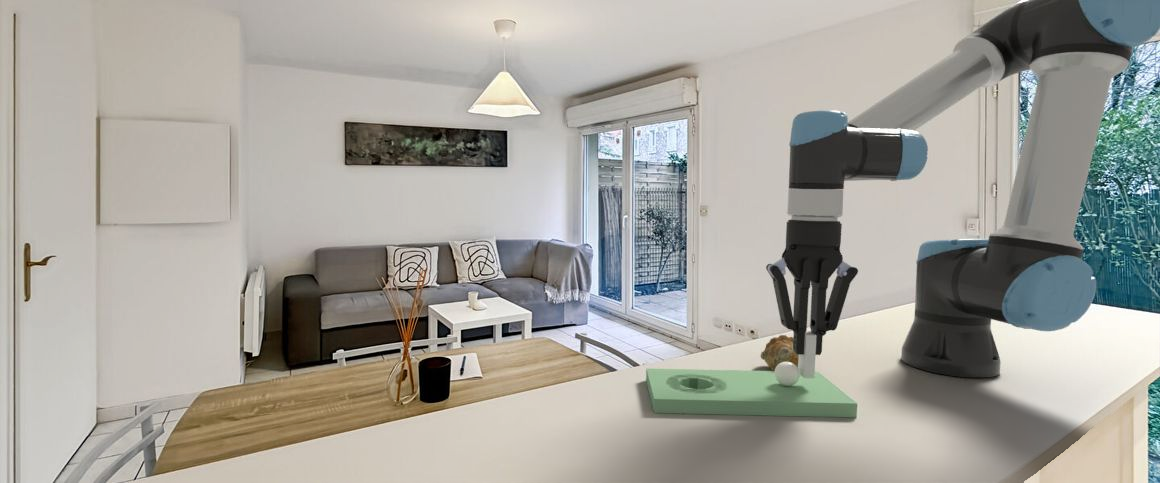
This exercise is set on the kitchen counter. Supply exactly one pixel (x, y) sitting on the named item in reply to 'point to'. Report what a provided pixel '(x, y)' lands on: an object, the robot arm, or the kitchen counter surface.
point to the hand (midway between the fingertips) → (805, 375)
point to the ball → (787, 373)
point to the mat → (745, 394)
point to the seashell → (779, 352)
